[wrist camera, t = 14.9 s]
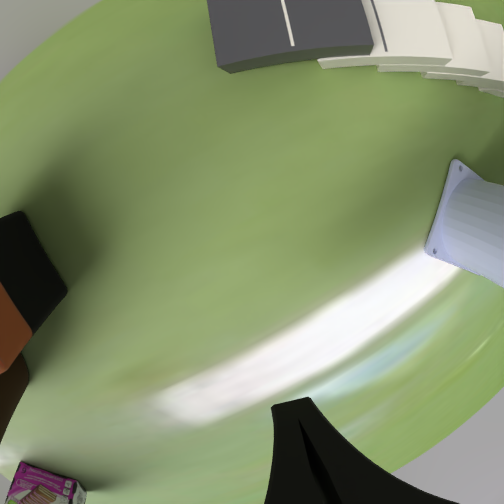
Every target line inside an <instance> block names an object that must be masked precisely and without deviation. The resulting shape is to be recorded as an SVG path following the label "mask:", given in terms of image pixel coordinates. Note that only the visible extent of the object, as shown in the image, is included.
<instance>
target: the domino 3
mask: <svg viewBox="0 0 504 504" xmlns="http://www.w3.org/2000/svg"><path fill="white" fill-rule="evenodd" d="M435 3H436V6H437V9H438V11H439V14H440V17H441V20H442V23H443V26H444V29H445V33H446V36H447V39H448V43H449V47H450V50H451V54H452V58H453V59H452V60H451V61H450V62H448V63H447V64H446V65H445V66H434V65H376V66H377V71H378V72H435V73H450V74H461V75H470V76H478V77H481V76H483V75H485V74H487V73H490V72H491V71H490V67H489V63H488V59H487V55H486V51H485V48H484V44H483V41H482V37H481V34H480V31H479V28H478V25H477V22H476V19H475V16H474V14H473V11H472V8H471V7H468V6H462V5H456V4H449V3H441V2H435Z"/></svg>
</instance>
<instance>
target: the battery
mask: <svg viewBox="0 0 504 504" xmlns="http://www.w3.org/2000/svg"><path fill="white" fill-rule="evenodd" d="M66 294H67V288H66V286H65V285H64V283H63V281H62V280H61V278H60V277H59V275H58V273H57V272H56V270H55V269H54V267H53V265H52V264H51V262H50V260H49V258H48V257H47V255H46V253H45V252H44V250H43V248H42V246H41V244H40V243H39V241H38V239H37V237H36V235H35V233H34V231H33V230H32V228H31V226H30V224H29V222H28V220H27V218H26V216H25V214H24V213H23V212H22V211H17V212H14V213H12V214H9V215H7V216H4V217H2V218H0V374H1V373H3V372H5V371H7V370H8V368H9V367H10V366H11V364H12V363H13V361H14V360H15V359H16V357H17V356H18V355H19V353H20V352H21V350H22V349H23V348H24V346H25V345H26V344H27V342H28V341H29V340H30V339H31V337H32V336H33V335H34V333H35V332H36V331H37V330H38V328H39V327H40V326H41V325H42V323H43V322H44V321H45V320H46V318H47V317H48V316H49V315H50V314H51V312H52V311H53V310H54V309H55V308H56V306H57V305H58V304H59V303H60V302H61V300H62V299H63V298H64V297H65V296H66Z"/></svg>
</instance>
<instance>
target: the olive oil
mask: <svg viewBox="0 0 504 504" xmlns="http://www.w3.org/2000/svg"><path fill="white" fill-rule="evenodd" d="M28 381H29V375H28V370H27V366H26V364H25V361H24V359H23V357H22V355H21V353H19V355H18V356H17V357H16V359H15V360H14V361H13V363H12V364H11V366H10V367H9V368H8V370H7V371H5V372H3V373H1V374H0V443H1V441H2V438H3V436H4V433H5V431H6V428H7V426H8V424H9V422H10V419H11V417H12V415H13V413H14V411H15V409H16V407H17V405H18V403H19V401H20V399H21V397H22V395H23V393H24V391H25V389H26V387H27V385H28Z"/></svg>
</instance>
